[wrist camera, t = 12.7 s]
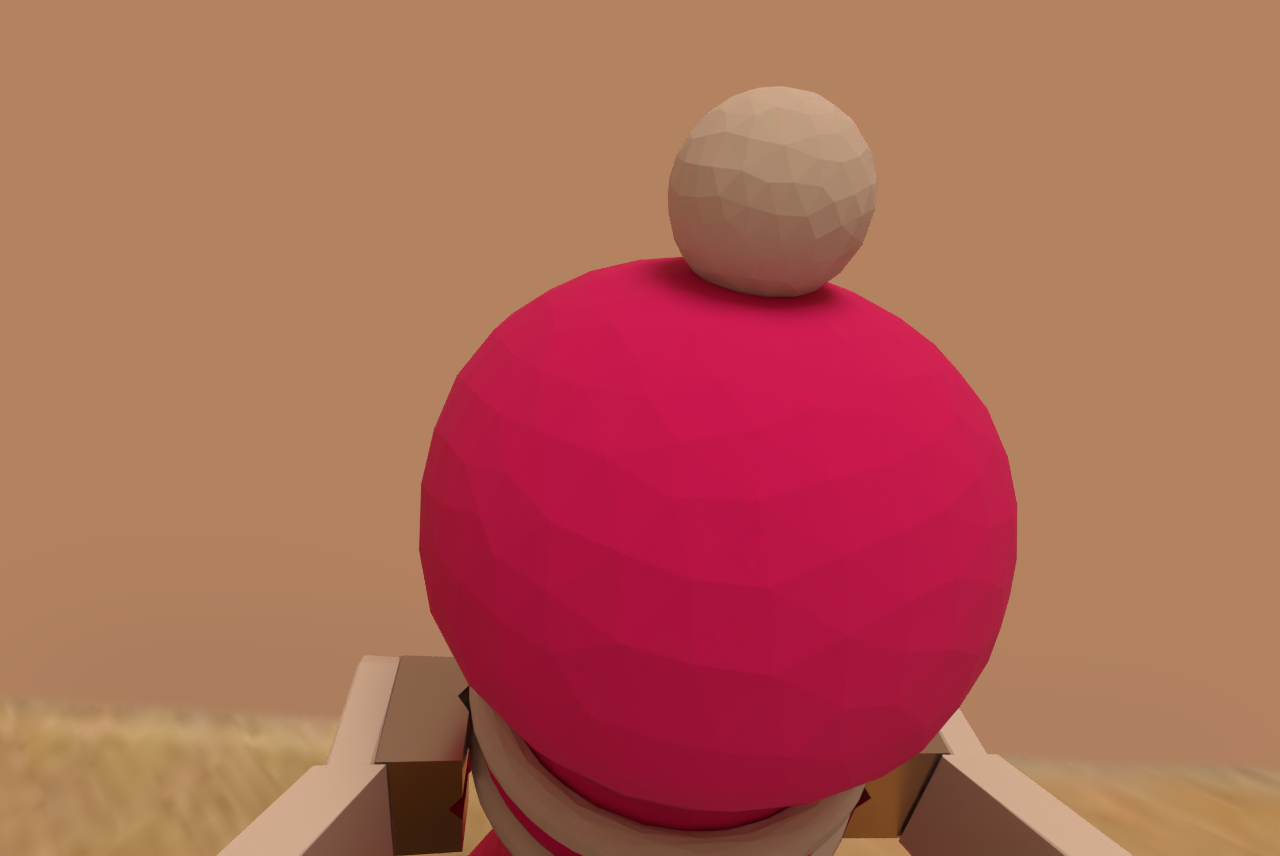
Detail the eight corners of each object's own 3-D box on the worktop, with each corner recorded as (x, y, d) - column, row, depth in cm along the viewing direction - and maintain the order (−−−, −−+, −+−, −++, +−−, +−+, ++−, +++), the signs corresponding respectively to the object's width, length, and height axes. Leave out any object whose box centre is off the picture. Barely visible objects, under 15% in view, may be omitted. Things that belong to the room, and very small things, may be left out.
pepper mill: (388, 992, 16) (289, 16, 7) (660, 879, 19) (848, 93, 10) (446, 1512, 11) (335, 46, 1) (817, 1236, 14) (1604, 202, 4)
